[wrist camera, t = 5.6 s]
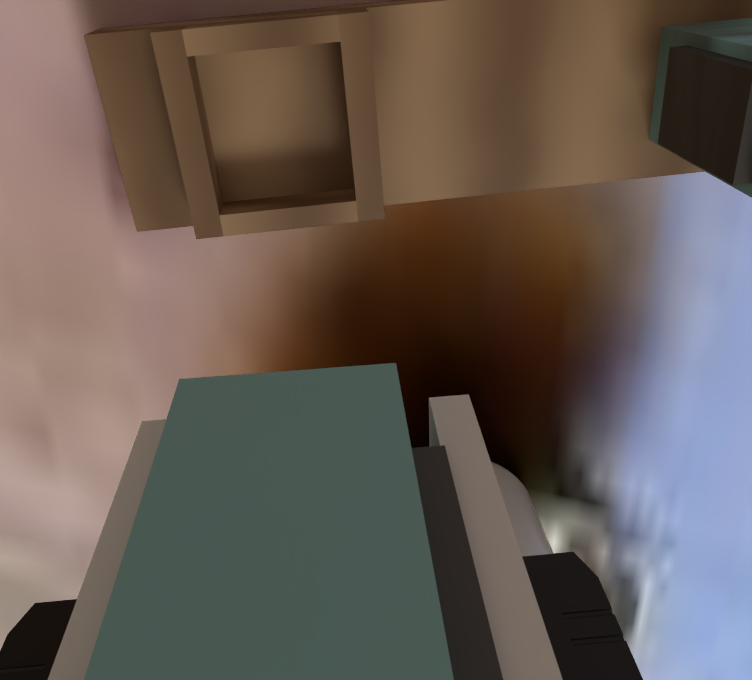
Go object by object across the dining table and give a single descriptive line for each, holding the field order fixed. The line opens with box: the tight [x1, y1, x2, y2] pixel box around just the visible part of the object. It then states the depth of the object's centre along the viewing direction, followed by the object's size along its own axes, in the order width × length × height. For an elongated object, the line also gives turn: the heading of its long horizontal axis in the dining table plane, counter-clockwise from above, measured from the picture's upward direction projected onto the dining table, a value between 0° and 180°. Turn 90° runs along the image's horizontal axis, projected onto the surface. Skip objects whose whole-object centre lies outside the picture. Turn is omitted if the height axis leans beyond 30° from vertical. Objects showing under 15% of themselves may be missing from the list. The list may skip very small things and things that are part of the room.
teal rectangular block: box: [84, 363, 503, 680], centre depth 10 cm, size 5×4×8 cm
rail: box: [84, 0, 752, 239], centre depth 23 cm, size 28×7×10 cm, turn 94°
